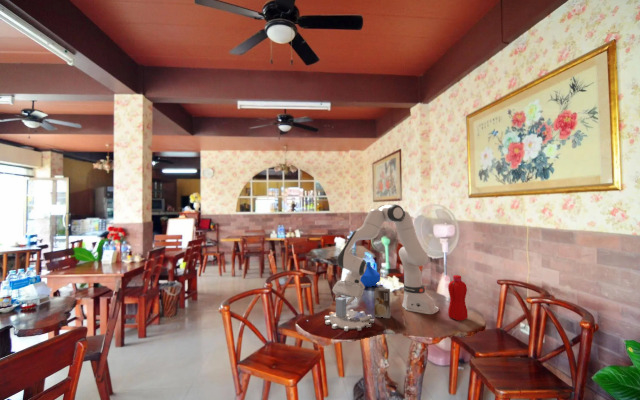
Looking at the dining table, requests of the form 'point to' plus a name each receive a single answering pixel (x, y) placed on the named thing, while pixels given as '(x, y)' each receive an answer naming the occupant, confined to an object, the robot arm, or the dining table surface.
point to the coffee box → (382, 302)
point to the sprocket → (349, 320)
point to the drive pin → (341, 307)
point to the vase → (370, 276)
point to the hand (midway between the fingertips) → (342, 301)
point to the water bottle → (457, 299)
